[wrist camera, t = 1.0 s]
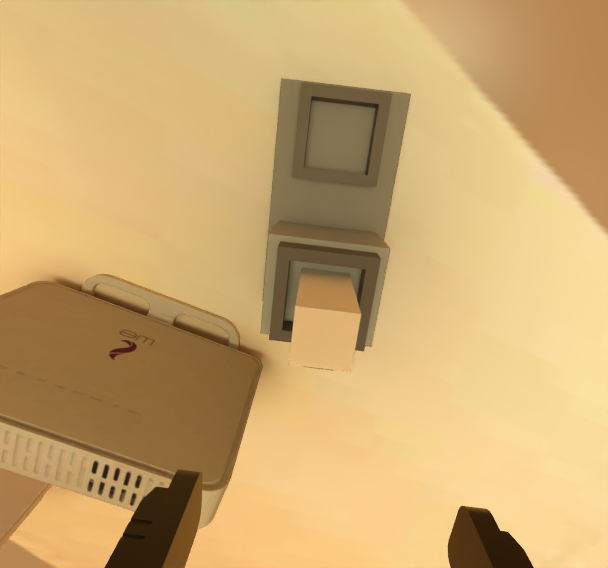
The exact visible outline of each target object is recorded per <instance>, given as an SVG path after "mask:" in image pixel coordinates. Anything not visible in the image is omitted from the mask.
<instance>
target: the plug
mask: <svg viewBox="0 0 608 568" xmlns="http://www.w3.org/2000/svg"><path fill="white" fill-rule="evenodd" d="M360 319H361V311H360V308H359V305H358V301H357V298H356V295H355V291H354V288H353V285H352V281H351V278H350V274H349V273H343V272H334V271H326V270H318V269H309V268H302V269H301V275H300V281H299V287H298V293H297V299H296V304H295V312H294V321H293V330H292V338H291V347H290V356H289V365H297V366H304V367H309V368H317V369H326V370H338V371H346V372H351V370H352V364H353V358H354V353H355V347H356V341H357V336H358V330H359V324H360Z"/></svg>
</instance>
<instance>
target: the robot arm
mask: <svg viewBox="0 0 608 568" xmlns="http://www.w3.org/2000/svg"><path fill="white" fill-rule="evenodd" d="M202 482H203V474H202V472H196V471H188V470H180V469H178V470H177V471H176V473H175V475H174V477H173V479H172V481H171V483H170V485H169V488H163V487H155V488H154V489H153V490H152V491H151V492H150V493H149V494H147V495H146V496H145V497H144V498H143V499H142V500H141V501H140V503H139V505H138V507H137V509H136V511H135V513H134V514H133V516H132V518H131V521H130V522H129V524H128V525H127V527H126V529H125V531H124V533H123V536H122V537H121V538H120V540H119V542H118V544H117V546H116V548H115V549H114V551H113V553H112V555H111V557H110V559H109V561H108V562H107V564H106V566H105V568H185V565H186V562H187V559H188V556H189V553H190V550H191V547H192V544H193V541H194V538H195V535H196V532H197V529H198V525H199V521H200V516H201V507H202ZM448 557H449V563H450V567H451V568H534V567H533V566H532V564H531V562H530V560H529V558H528V556H527V554H526V553H525V551H524V549H523V548H522V547H521V546H520V545H519V544H518V543H517V542H516V540H515V539H514V538H513V537H512V536H511V535H510V534H509V533H508V532H505V531H500V529H499V528H498V526H497V524H496V522H495V520H494V518H493V516H492V514H491V512H490V511H489V510H487V509H483V508H475V507H467V506H461V507H460V508H459V510H458V513H457V516H456V520H455V523H454V526H453V529H452V532H451V535H450V538H449V542H448Z"/></svg>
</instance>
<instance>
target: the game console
mask: <svg viewBox="0 0 608 568" xmlns="http://www.w3.org/2000/svg"><path fill="white" fill-rule="evenodd" d="M51 486H52V484H49V483H46V482H43V481H39V480H36V479H33V478H30V477H27V476H24V475H21V474H18V473H15V472H12V471H9V470H6V469H3V468H0V548H1V547H2V546H3V545H4V544H5V542H6V541H7V540H8V539H9V538H10V536H11V535H12V534H13V533H14V532H15V530H16V529H17V528H18V527H19V526H20V524H21V523H22V522H23V521H24V520H25V518H26V517H27V516H28V515H29V514H30V512H31V511H32V510H33V509H34V508H35V507H36V505H37V504H38V503H39V502H40V501H41V499H42V498H43V496H44V494H45V493H46V492H47V491H48V490H49V489H50V487H51Z"/></svg>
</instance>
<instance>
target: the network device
mask: <svg viewBox="0 0 608 568" xmlns="http://www.w3.org/2000/svg"><path fill="white" fill-rule="evenodd" d="M98 283H104V284H107V285H110V286H112V287H115V288H118V289H120V290H123V291H125V292H128V293H131V294H133V295H136V296H139V297H141V298H144V299H145V300H146V301H147V302H148V304H149V307H150V310H149V312H148V314H147V315H146V316H144V315H142V314H139V313H136V312H134V311H131V310H128V309H126V308H123V307H120V306H118V305H115V304H112V303H109V302H107V301H104V300H101V299H99V298H96V297H93V296H94V292H95V288H96V285H97V284H98ZM179 314H187V315H189V316H192V317H195V318H197V319H200V320H203V321H205V322H208V323H211V324H213V325H216V326H219V327H221V328H223V329H225V330H226V331H227V332H228V334H229V342H228V344H227V346H225V345H222V344H220V343H217V342H214V341H212V340H209V339H206V338H203V337H201V336H198V335H195V334H193V333H190V332H187V331H185V330H182V329H179V328H177V327H174V326H173V325H174V322H175V319H176V316H177V315H179ZM238 346H239V333H238V331H237V329H236V327H235V326H234V325H233V324H232V323H231V322H230V321H229V320H227V319H225V318H223V317H220V316H218V315H215V314H213V313H210V312H207V311H205V310H202V309H199V308H197V307H194V306H191V305H189V304H186V303H183V302H181V301H178V300H176V299H173V298H170V297H168V296H165V295H162V294H160V293H157V292H154V291H152V290H149V289H146V288H144V287H141V286H139V285H136V284H133V283H131V282H128V281H125V280H123V279H120V278H117V277H115V276H112V275H107V274H101V275H96V276H94V277H92V278H90V279H88V280H87V281H86V282H85V283H84V284H83V286H82V288H81V291H77V290H75V289H72V288H69V287H67V286H64V285H61V284H58V283H55V282H49V281H38V282H34V283H31V284H28V285H26V286H23V287H21V288H18V289H16V290H13V291H10V292H8V293H5V294H3V295H0V468H3V469H6V470H9V471H12V472H15V473H18V474H21V475H24V476H27V477H30V478H33V479H36V480H39V481H43V482H46V483H49V484H52V485H55V486H58V487H61V488H64V489H67V490H70V491H73V492H76V493H79V494H82V495H85V496H88V497H91V498H94V499H97V500H100V501H104V502H107V503H110V504H113V505H116V506H119V507H122V508H125V509H128V510H131V511H134V512H135V511H136V509H137V507H138V505H139V503H140V501H141V500H142V499H143V498H144V497H145V496H146V495H147V494H149V493H150V492H151V491H152V490H153V489H154V488H155V487H163V488H169V485H170V483H171V481H172V479H173V477H174V475H175V473H176V471H177V470H178V469H180V470H188V471H196V472H202V474H203V482H202V507H201V516H200V521H199V525H198V529H200V528H203V527H205V526H207V525H208V524H209V523H210V522H211V521H212V520H213V518H214V516H215V513H216V511H217V509H218V506H219V504H220V502H221V500H222V497H223V495H224V493H225V490H226V488H227V486H228V483H229V481H230V479H231V475H232V472H233V468H234V465H235V461H236V458H237V454H238V451H239V447H240V444H241V440H242V437H243V433H244V430H245V426H246V423H247V419H248V416H249V412H250V409H251V405H252V402H253V398H254V395H255V392H256V388H257V385H258V381H259V378H260V374H261V371H262V363H261V362H260V361H259V360H258V359H257V358H256V357H254V356H252V355H249V354H246V353H244V352H241V351H238V350H237V349H238Z"/></svg>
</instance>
